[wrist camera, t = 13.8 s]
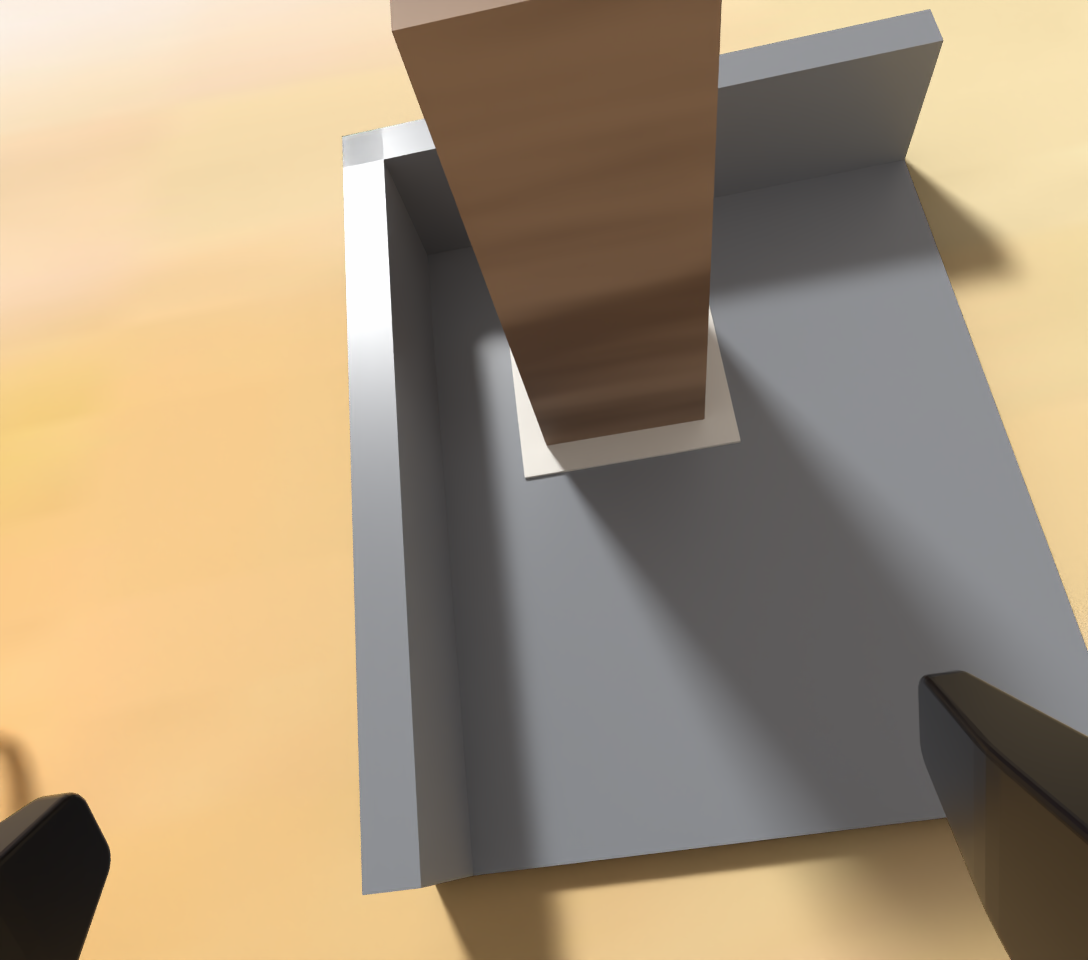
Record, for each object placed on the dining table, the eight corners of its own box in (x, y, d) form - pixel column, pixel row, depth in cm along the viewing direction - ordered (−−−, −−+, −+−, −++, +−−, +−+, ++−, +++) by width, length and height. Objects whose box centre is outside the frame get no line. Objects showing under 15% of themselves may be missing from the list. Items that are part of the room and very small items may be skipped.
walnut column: (704, 419, 24) (723, -44, 11) (546, 445, 24) (391, 31, 12) (677, 287, 26) (666, -242, 13) (530, 313, 26) (381, -171, 14)
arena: (1127, 794, 20) (1262, 785, 15) (432, 879, 21) (362, 895, 17) (889, 145, 27) (930, 8, 23) (396, 244, 29) (342, 136, 24)
